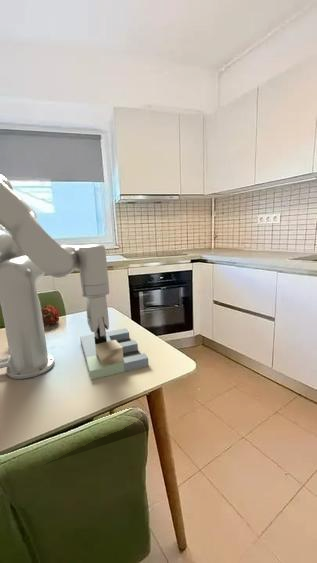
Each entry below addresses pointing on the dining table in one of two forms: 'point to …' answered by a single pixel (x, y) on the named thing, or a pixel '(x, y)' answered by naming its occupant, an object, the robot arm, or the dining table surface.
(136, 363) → the board
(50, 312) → the dragon fruit
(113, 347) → the block
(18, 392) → the dining table surface
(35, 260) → the robot arm
